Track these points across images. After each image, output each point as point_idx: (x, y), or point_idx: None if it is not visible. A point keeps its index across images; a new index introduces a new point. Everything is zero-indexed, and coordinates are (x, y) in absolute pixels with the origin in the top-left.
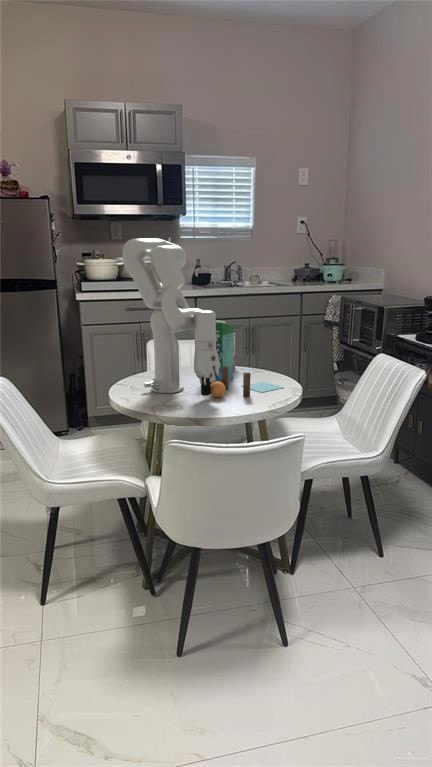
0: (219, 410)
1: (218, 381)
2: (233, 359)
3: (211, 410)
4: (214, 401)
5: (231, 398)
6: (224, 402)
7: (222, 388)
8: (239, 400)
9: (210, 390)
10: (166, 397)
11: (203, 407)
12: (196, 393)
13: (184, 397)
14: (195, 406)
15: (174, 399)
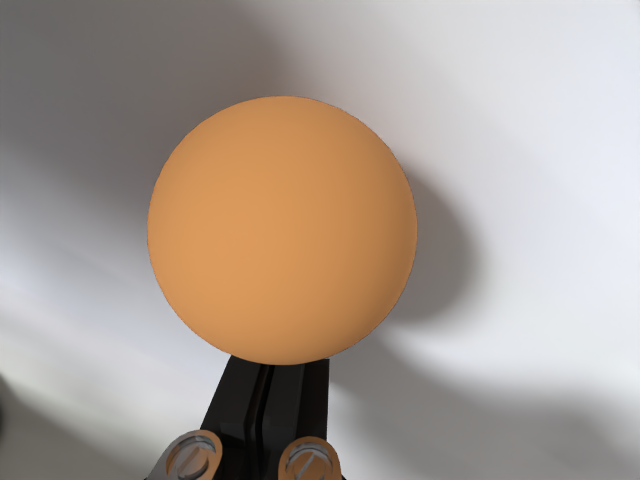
0: (633, 412)
1: (257, 278)
2: None
3: (577, 445)
4: (405, 305)
5: (448, 85)
6: (505, 254)
7: (414, 243)
8: (599, 54)
9: None
10: (101, 475)
11: (473, 443)
12: (62, 277)
13: (152, 406)
14: (411, 463)
15: None
